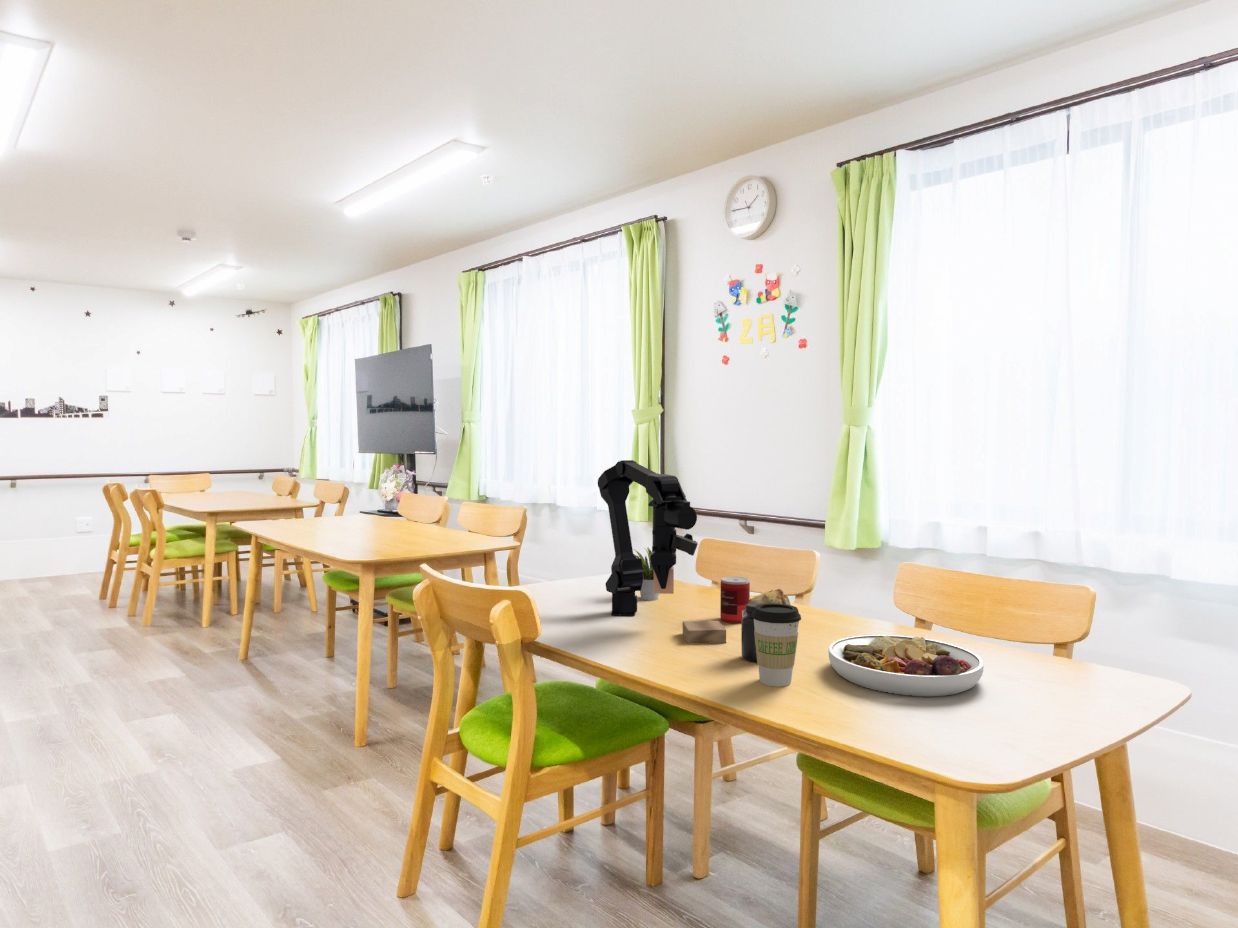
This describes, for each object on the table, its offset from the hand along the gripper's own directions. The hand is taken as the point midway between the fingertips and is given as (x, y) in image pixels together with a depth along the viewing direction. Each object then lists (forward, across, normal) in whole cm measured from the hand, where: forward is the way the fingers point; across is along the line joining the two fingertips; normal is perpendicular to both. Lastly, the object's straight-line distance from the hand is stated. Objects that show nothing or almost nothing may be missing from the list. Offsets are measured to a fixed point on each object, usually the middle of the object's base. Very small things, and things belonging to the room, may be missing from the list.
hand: (663, 586), depth 199 cm
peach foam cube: (+1, 0, 0) cm, 1 cm away
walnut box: (+11, -8, -10) cm, 17 cm away
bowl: (+12, -34, -50) cm, 61 cm away
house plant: (+11, +36, +3) cm, 38 cm away
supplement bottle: (+11, -24, -21) cm, 34 cm away
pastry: (+11, +15, -29) cm, 34 cm away
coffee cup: (+11, -40, -23) cm, 47 cm away
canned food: (+11, +11, -19) cm, 25 cm away
